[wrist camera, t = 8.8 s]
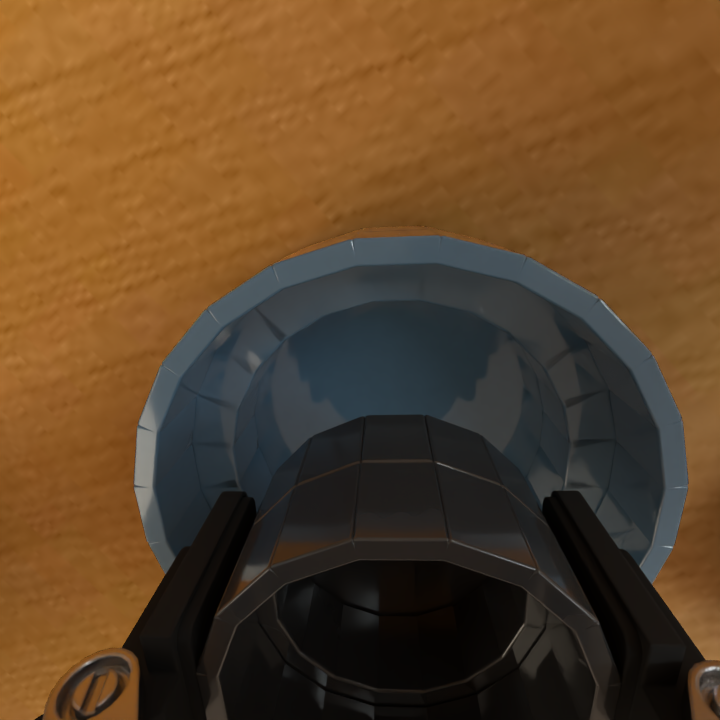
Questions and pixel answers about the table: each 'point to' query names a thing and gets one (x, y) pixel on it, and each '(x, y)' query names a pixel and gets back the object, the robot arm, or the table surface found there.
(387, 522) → the black bowl
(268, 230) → the table surface
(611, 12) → the table surface
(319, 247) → the blue bowl
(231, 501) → the robot arm
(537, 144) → the table surface
